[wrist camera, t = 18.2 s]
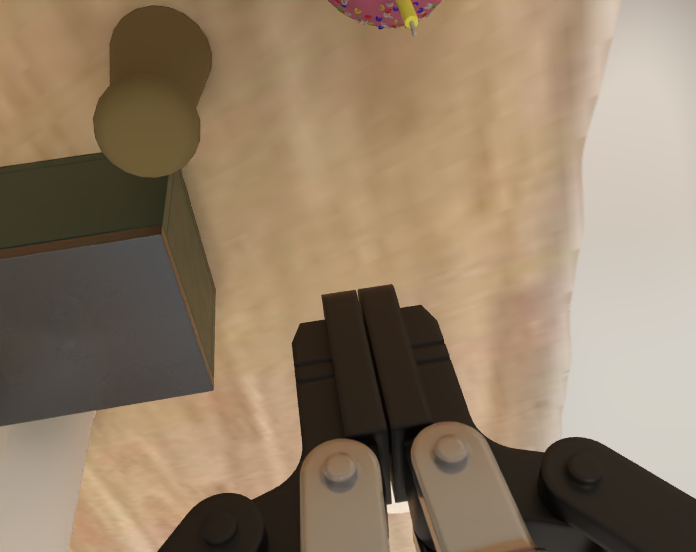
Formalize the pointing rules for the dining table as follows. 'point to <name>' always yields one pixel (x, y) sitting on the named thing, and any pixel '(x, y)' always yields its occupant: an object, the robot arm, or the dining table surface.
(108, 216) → the dark green storage bin
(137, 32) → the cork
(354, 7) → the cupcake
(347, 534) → the robot arm
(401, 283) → the dining table surface
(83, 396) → the dark gray flat panel
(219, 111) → the dining table surface
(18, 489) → the bottle
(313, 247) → the dining table surface
